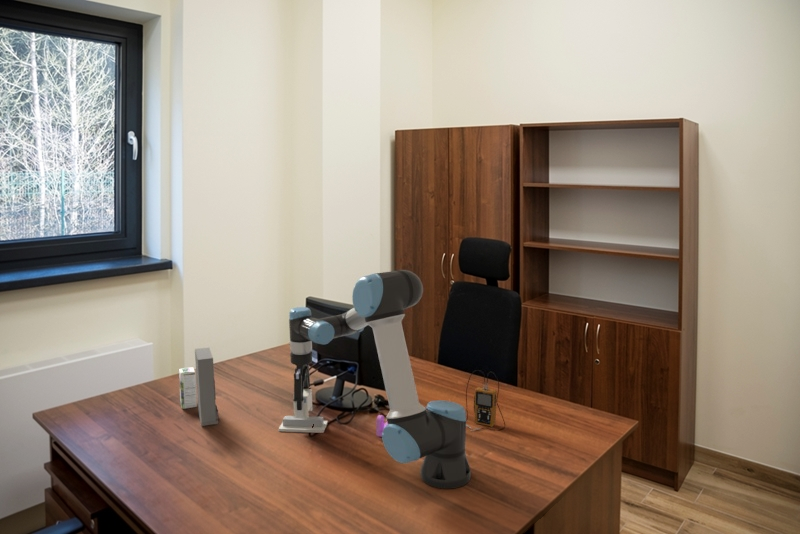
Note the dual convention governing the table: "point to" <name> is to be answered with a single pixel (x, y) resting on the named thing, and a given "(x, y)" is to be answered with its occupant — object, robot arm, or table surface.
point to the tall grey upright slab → (206, 387)
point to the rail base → (303, 429)
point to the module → (305, 402)
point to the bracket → (380, 425)
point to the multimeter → (484, 405)
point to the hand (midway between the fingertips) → (302, 413)
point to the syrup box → (187, 387)
